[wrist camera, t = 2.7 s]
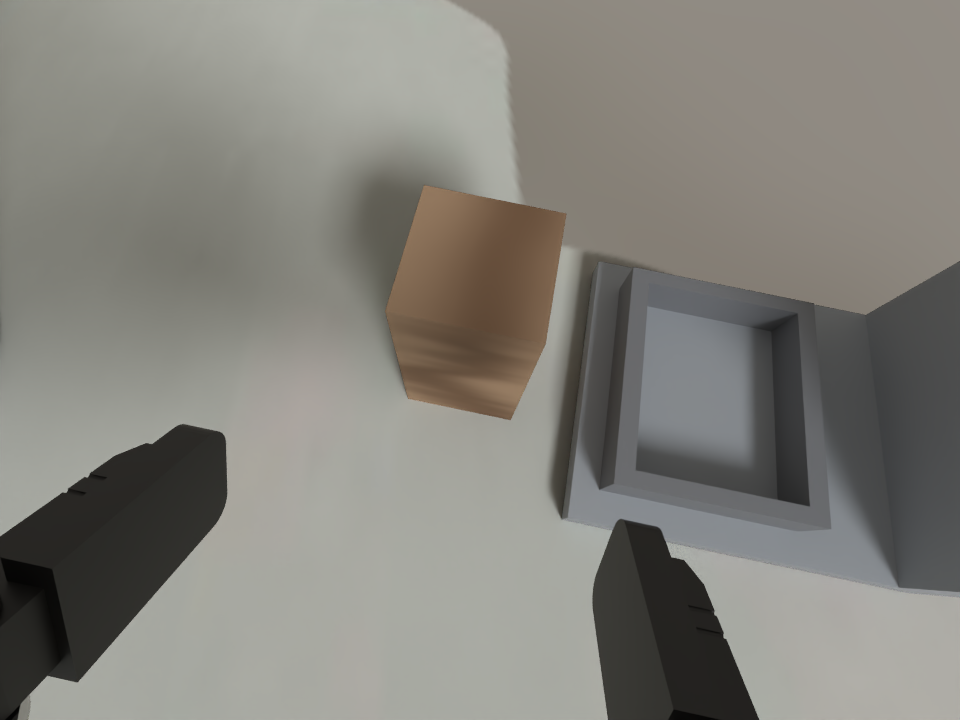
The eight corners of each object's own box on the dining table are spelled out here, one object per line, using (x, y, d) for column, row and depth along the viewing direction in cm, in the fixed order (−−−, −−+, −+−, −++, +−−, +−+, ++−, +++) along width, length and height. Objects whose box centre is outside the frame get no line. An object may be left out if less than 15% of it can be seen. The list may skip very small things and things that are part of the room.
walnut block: (408, 398, 23) (385, 310, 15) (435, 294, 25) (429, 167, 17) (510, 420, 23) (545, 343, 15) (529, 314, 25) (569, 195, 17)
